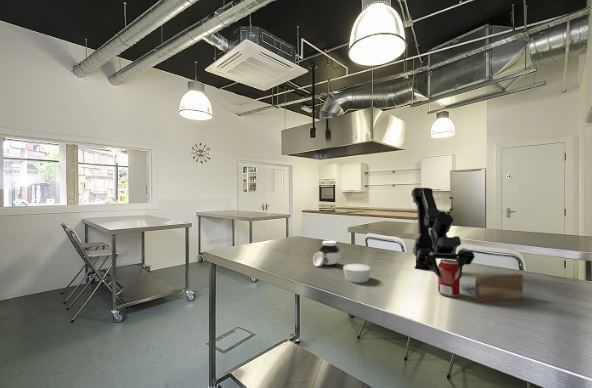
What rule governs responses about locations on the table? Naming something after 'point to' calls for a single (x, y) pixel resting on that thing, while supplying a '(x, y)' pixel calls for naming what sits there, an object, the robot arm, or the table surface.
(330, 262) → the spread jar
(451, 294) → the soda can
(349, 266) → the ramekin
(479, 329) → the table surface
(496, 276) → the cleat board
